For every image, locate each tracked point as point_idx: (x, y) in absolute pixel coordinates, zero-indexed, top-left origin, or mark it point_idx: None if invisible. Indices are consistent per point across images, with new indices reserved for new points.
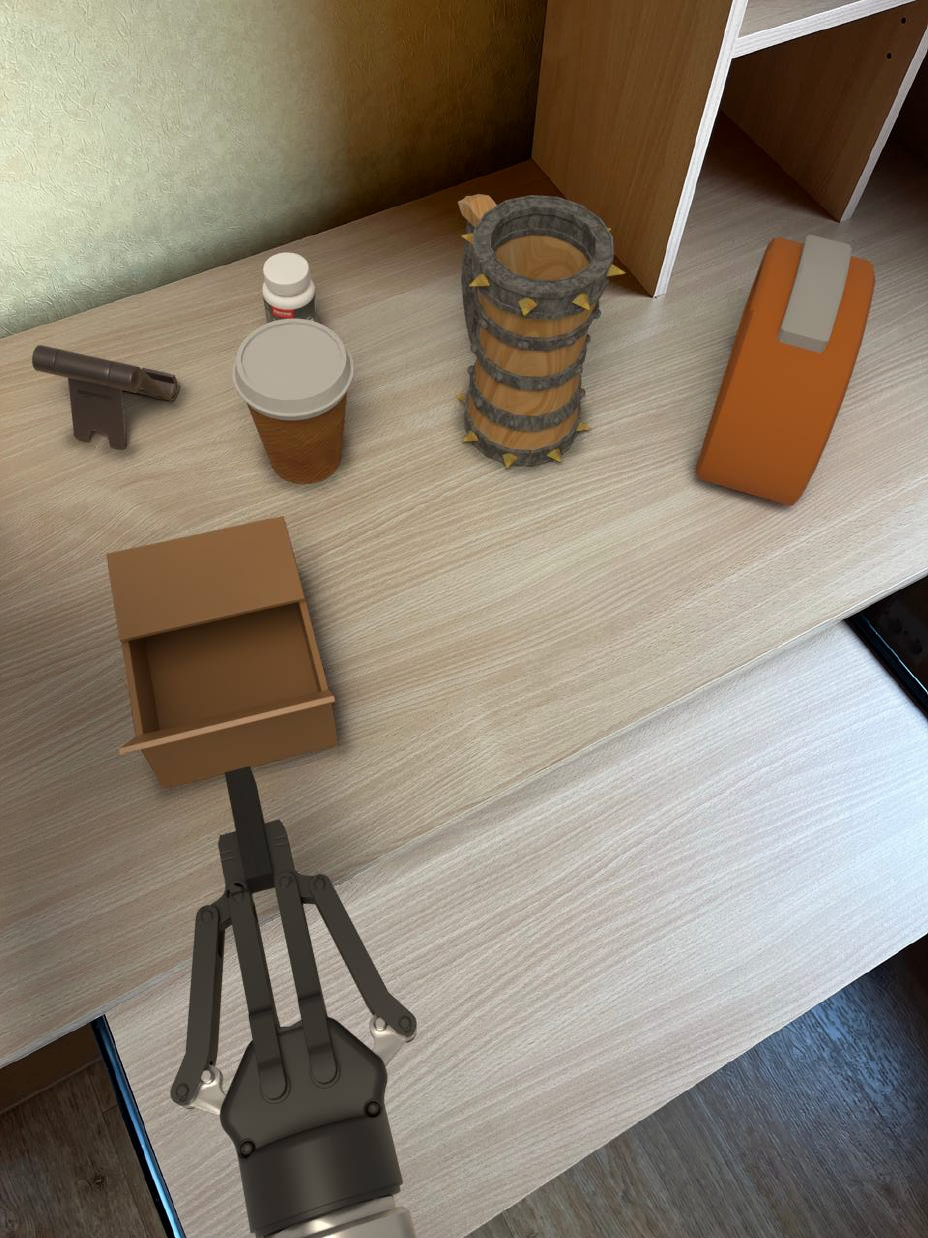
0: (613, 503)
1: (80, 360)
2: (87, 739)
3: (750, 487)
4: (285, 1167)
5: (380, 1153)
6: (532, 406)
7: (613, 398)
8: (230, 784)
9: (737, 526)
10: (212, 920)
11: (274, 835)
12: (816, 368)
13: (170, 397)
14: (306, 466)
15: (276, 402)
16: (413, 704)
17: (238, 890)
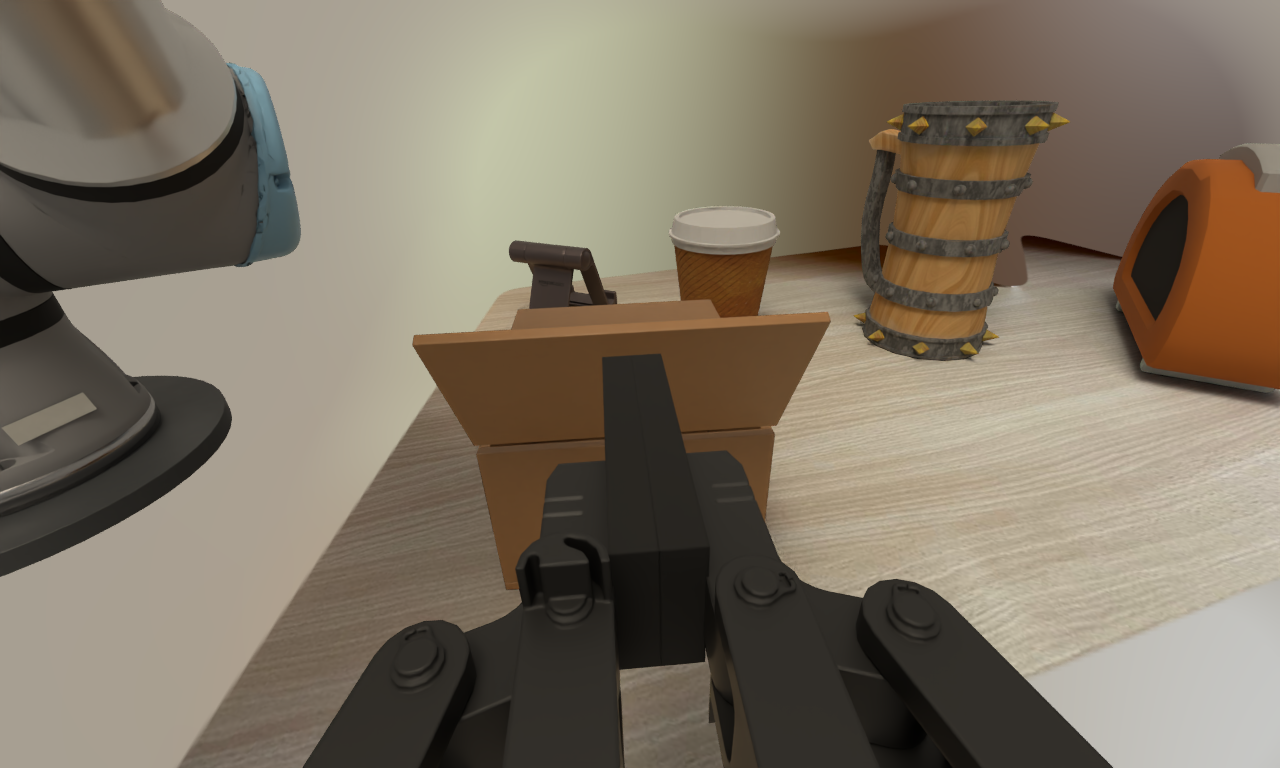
0: (1051, 388)
1: (545, 245)
2: (436, 521)
3: (1242, 362)
4: None
5: None
6: (954, 281)
7: (1007, 329)
8: (611, 370)
9: (1227, 414)
10: (431, 684)
11: (712, 479)
12: None
13: None
14: None
15: (709, 231)
16: (863, 536)
17: (574, 561)
